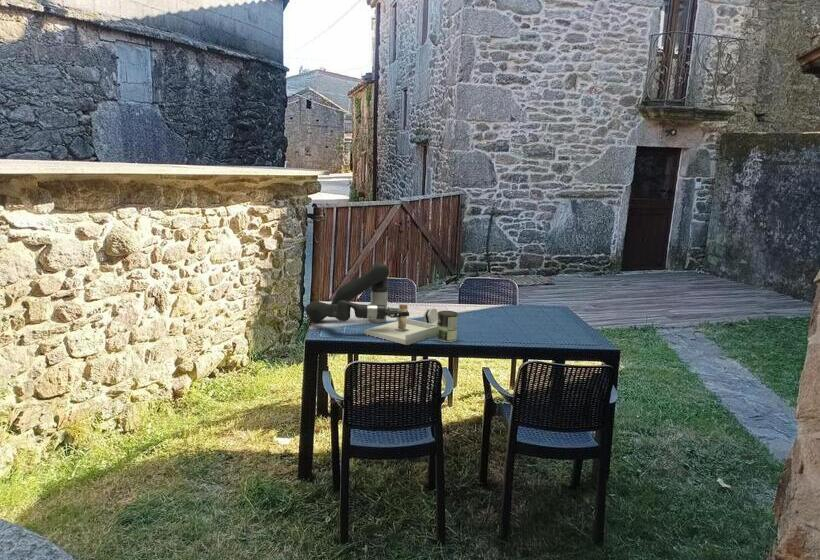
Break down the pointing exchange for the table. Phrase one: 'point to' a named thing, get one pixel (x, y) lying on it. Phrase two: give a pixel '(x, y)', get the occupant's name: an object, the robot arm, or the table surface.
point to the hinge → (431, 316)
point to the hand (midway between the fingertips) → (408, 313)
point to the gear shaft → (402, 319)
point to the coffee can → (447, 326)
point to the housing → (404, 331)
